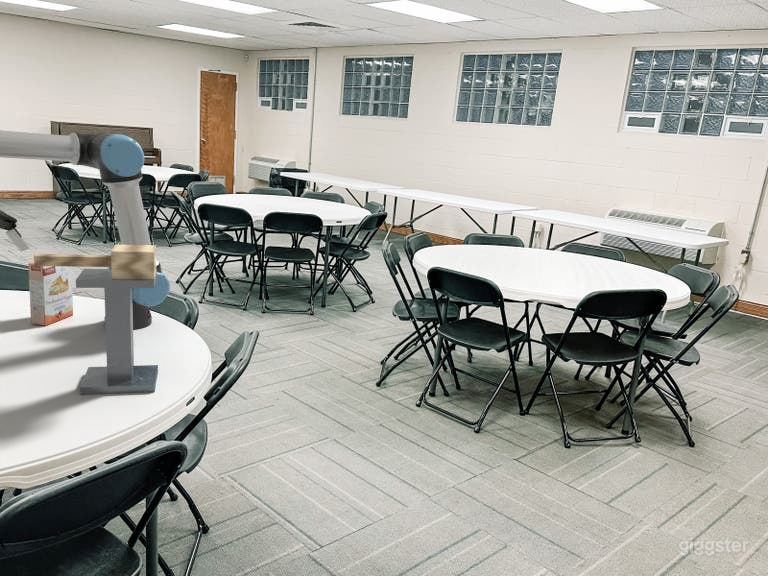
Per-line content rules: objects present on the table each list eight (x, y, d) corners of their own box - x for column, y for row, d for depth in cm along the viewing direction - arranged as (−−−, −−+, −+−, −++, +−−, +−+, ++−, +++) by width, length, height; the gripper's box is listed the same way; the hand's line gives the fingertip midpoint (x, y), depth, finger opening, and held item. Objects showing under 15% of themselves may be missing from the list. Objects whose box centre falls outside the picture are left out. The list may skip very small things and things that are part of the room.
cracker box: (46, 326, 207) (42, 264, 202) (30, 324, 208) (26, 262, 203) (74, 315, 220) (72, 257, 215) (59, 313, 221) (56, 255, 216)
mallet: (31, 277, 152) (29, 249, 151) (40, 269, 161) (38, 242, 159) (154, 279, 160) (153, 252, 159) (156, 271, 169) (156, 245, 167)
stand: (79, 394, 160) (74, 280, 153) (88, 373, 173) (84, 267, 166) (154, 391, 165) (153, 281, 158) (158, 371, 178) (156, 268, 171)
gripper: (-25, 179, 172) (28, 242, 182) (-94, 226, 152) (-31, 293, 163) (-6, 171, 169) (46, 235, 180) (-75, 218, 149) (-12, 287, 160)
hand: (10, 263), depth 171 cm, fingers open, 13 cm apart
